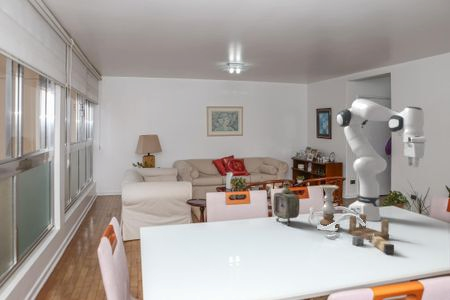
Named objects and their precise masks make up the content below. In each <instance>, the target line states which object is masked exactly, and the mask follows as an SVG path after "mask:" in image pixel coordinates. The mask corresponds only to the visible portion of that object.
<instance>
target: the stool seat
mask: <svg viewBox="0 0 450 300" xmlns="http://www.w3.org/2000/svg"><path fill="white" fill-rule="evenodd" d="M359 218H361V219H362V220H363V222H364V223H365V224H366V225H365V226H362V225H361V224H360V223H359V222H358V224H359V225H358V226H357V220H358V219H357V217H356V216H350V217H349V228H348V232H347V233H348V235H352V236H354V237H356V236H362V237H364V239H365V240H367V241H370V236H373V233H375V234H376V236H380V237H381V238H383V239H384V240H386V241H387V240H389V239H390V233H389V230H390V228H389V227H390V221H389V220H388V219H381V224H380V225H381V226H380V227H381V230H380V231H379V230H376V229H373V228H369V227H367V220H366V215H365V214H360V215H359Z"/></svg>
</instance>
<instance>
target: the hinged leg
mask: <svg viewBox="0 0 450 300" xmlns="http://www.w3.org/2000/svg"><path fill="white" fill-rule="evenodd" d="M369 241H370V242H372V243H371V244H372V245H374V246H375V247H376V248H378V249H379V250H380V251H382V252H383V253H384V254H386V255H387V254H391V255H394V254H395V245H394V244H393V243H391V242H389V241H387V239H386V240H384V239H383V238H381V237H380V236H370V240H369ZM370 242H369V243H370Z"/></svg>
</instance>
